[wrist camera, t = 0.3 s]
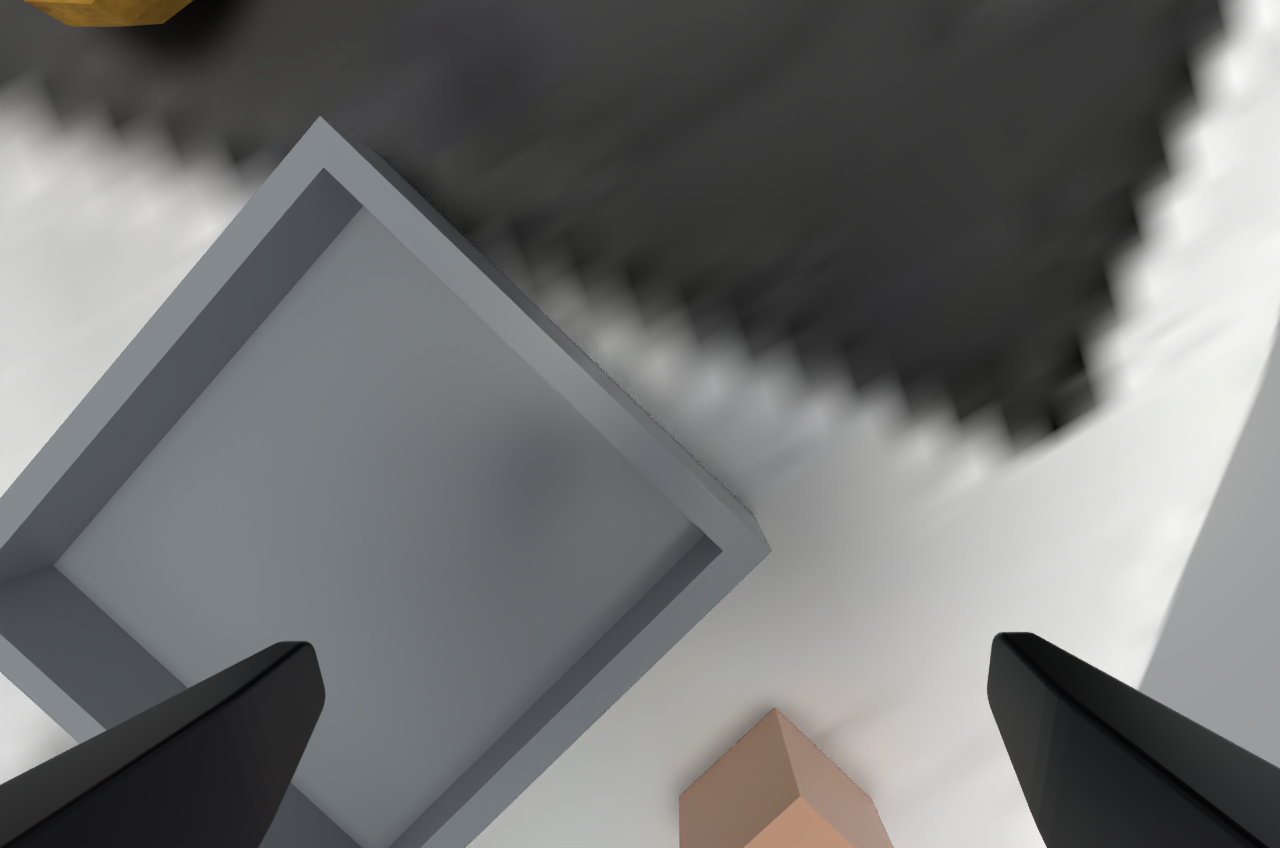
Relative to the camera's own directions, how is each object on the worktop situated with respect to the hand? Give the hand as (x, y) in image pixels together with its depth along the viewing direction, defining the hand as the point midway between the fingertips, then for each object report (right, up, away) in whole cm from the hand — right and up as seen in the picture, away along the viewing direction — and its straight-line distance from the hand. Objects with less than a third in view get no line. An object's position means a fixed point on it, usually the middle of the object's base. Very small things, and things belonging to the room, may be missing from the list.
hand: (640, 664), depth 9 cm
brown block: (+5, -11, +16) cm, 20 cm away
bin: (-9, -1, +16) cm, 18 cm away
